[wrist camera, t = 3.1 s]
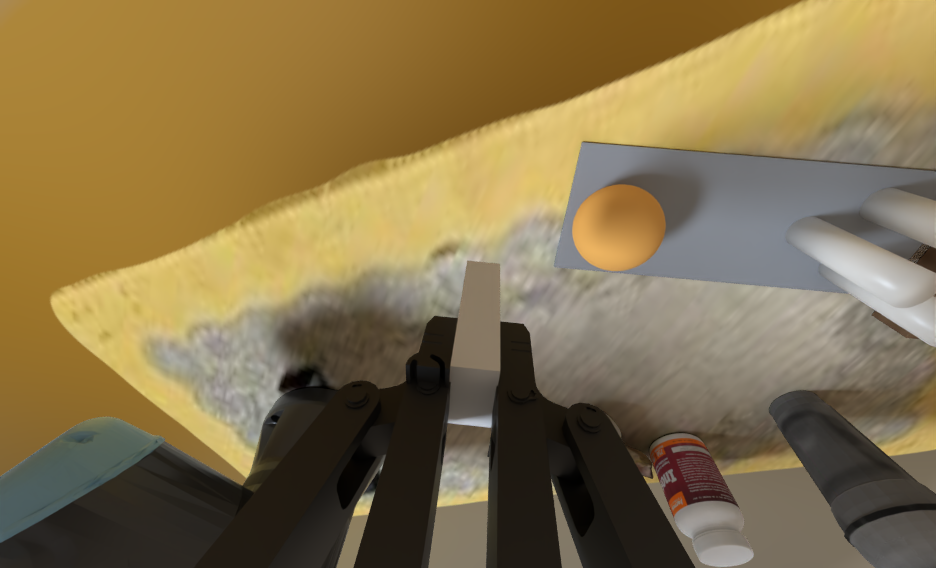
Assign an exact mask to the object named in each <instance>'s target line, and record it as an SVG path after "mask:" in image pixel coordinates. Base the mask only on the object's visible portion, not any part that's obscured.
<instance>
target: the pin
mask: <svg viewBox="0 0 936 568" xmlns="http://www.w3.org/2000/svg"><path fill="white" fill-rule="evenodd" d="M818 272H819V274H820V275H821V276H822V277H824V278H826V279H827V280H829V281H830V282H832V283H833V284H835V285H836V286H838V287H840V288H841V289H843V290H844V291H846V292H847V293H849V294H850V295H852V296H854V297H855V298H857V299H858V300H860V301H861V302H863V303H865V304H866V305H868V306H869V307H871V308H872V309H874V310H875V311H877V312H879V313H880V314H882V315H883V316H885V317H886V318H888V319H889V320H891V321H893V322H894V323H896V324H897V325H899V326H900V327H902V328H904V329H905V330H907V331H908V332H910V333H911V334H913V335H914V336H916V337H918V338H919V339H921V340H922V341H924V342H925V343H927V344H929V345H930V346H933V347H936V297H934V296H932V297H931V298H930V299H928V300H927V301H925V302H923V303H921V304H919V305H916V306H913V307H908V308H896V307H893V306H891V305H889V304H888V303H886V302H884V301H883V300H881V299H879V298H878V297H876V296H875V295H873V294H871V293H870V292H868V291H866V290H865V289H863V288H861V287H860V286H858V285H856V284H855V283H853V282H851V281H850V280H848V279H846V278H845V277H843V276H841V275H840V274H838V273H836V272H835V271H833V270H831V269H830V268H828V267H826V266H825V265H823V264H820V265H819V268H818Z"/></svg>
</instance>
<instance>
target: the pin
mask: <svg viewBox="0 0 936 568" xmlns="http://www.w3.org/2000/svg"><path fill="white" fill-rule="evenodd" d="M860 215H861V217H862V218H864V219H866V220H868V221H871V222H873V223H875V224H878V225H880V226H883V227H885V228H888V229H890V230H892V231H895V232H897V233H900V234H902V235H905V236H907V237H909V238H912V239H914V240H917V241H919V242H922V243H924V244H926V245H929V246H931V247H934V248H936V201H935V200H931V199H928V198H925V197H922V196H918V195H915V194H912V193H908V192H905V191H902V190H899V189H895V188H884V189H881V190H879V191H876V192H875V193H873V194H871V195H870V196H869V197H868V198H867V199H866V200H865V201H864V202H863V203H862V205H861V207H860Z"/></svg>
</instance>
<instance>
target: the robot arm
mask: <svg viewBox="0 0 936 568" xmlns="http://www.w3.org/2000/svg"><path fill="white" fill-rule="evenodd" d="M447 423H452V424H461V425H471V426H480V427H489V428H491V425H492V430H491V439H490V445H489V451H488V457H489V487H488V522H487V558H486V568H562V566H561V557H560V549H559V541H558V532H557V524H556V516H555V508H554V500H553V491H552V483H551V479H552V482H553V484H554V487H555V490H556V493H557V496H558V499H559V501H560V504H561V507H562V510H563V513H564V515H565V518H566V521H567V524H568V527H569V529H570V532H571V535H572V538H573V541H574V543H575V546H576V549H577V552H578V555H579V557H580V560H581V563H582V566H583V568H695V566H694V564H693V563H692V561H691V559H690V558H689V556H688V554H687V552H686V551H685V549H684V547H683V546H682V544H681V542H680V540H679V539H678V537H677V535H676V533H675V531H674V530H673V528H672V526H671V524H670V523H669V521H668V519H667V518H666V516H665V514H664V512H663V511H662V509H661V507H660V505H659V504H658V502H657V500H656V498H655V497H654V495H653V493H652V491H651V490H650V488H649V486H648V485H647V483H646V481H645V479H644V478H643V476H642V474H641V472H640V471H639V469H638V467H637V465H636V464H635V462H634V460H633V458H632V457H631V455H630V453H629V451H628V450H627V448H626V446H625V444H624V443H623V441H622V439H621V438H620V436H619V434H618V432H617V431H616V429H615V427H614V425H613V424H612V422H611V420H610V419H609V418H608V416H607V415H606V414H605V413H604V412H603V411H602V410H600V409H599V408H598V407H596V406H593V405H590V404H587V403H578V404H574V405H572V406H571V407H570V408H569V409H567V408H565V407H562V406H560V405H557V404H555V403H553V402H551V401H549V400H547V399H546V398H545V397H543V395H542V394H541V393H540V392H539V390H538V389H537V387H536V383H535V376H534V367H533V358H532V349H531V341H530V333H529V331H528V330H527V328H526V327H525V326H524V324H519V323H509V322H500V264H497V263H486V262H475V261H467V266H466V273H465V279H464V285H463V291H462V297H461V303H460V309H459V316H458V318H450V317H440V316H434V317H433V318H432V319H431V320H430V321H429V322H428V323H427V326H426V329H425V333H424V336H423V340H422V344H421V347H420V351H419V353H417V354H415V355H413V356H412V357H411V358H409V360H408V361H407V363H406V381H405V382H404V383H402V384H400V385H398V386H395V387H391V388H385V389H379V390H378V388H377V387H376V385H374V384H372V383H371V382H368V381H355V382H351V383H349V384H347V385H345V386H343V387H342V388H341V389H340V390H339V391H335V390H330V389H324V388H304V389H298V390H294V391H291V392H288V393H286V394H284V395H283V396H281V397H280V398H279V399H278V400H277V401H276V402H275V404H274V405H273V407H272V408H271V410H270V412H269V413H268V415H267V416H266V418H265V420H264V423H263V426H262V430H261V434H260V437H259V441H258V445H257V449H256V453H255V457H254V461H253V465H252V469H251V472H250V474H249V476H248V477H247V479H246V481H245V483H244V484H243V486H242V485H240V484H239V483H237V482H235V481H233V480H232V479H230V478H228V477H226V476H225V475H223V474H221V473H219V472H218V471H216V470H214V469H212V468H211V467H209V466H207V465H205V464H204V463H202V462H200V461H198V460H197V459H195V458H193V457H191V456H189V455H188V454H186V453H184V452H182V451H181V450H179V449H177V448H176V447H174V446H172V445H170V444H168V443H167V442H165V439H164V438H162V437H161V436H157V435H156V436H153V435H151V434H149V433H147V432H145V431H143V430H141V429H139V428H137V427H135V426H133V425H131V424H129V423H127V422H125V421H123V420H121V419H117V418H114V417H99V418H94V419H90V420H87V421H84V422H82V423H80V424H78V425H76V426H74V427H73V428H71V429H69V430H68V431H66V432H65V433H63V434H62V435H60V436H59V437H57V438H56V439H55V440H53V441H51V442H50V443H48V444H47V445H46V446H44V447H43V448H41V449H40V450H38V451H37V452H36V453H34V454H33V455H31V456H30V457H28V458H27V459H25V460H24V461H22V462H21V463H19V464H18V465H17V466H15V467H14V468H12V469H11V470H9V471H8V472H6V473H5V474H3V475H2V476H1V477H0V568H336V567H337V564H338V560H339V557H340V554H341V551H342V548H343V545H344V541H345V538H346V535H347V532H348V529H349V525H350V522H351V519H352V516H353V513H354V510H355V507H356V504H357V502H358V501H359V499H360V498H361V496H362V495H363V493H364V492H365V490H366V489H367V487H368V486H369V484H370V483H371V481H372V480H373V478H374V477H375V475H376V474H377V472H378V470H379V469H380V467H381V466H382V464H383V467H382V470H381V474H380V477H379V481H378V484H377V488H376V491H375V495H374V498H373V502H372V505H371V509H370V512H369V516H368V519H367V523H366V526H365V530H364V533H363V537H362V540H361V543H360V547H359V550H358V554H357V558H356V561H355V564H354V568H428V565H429V558H430V550H431V543H432V536H433V529H434V522H435V515H436V508H437V500H438V493H439V486H440V479H441V472H442V465H443V457H444V450H445V443H446V431H447Z"/></svg>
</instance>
